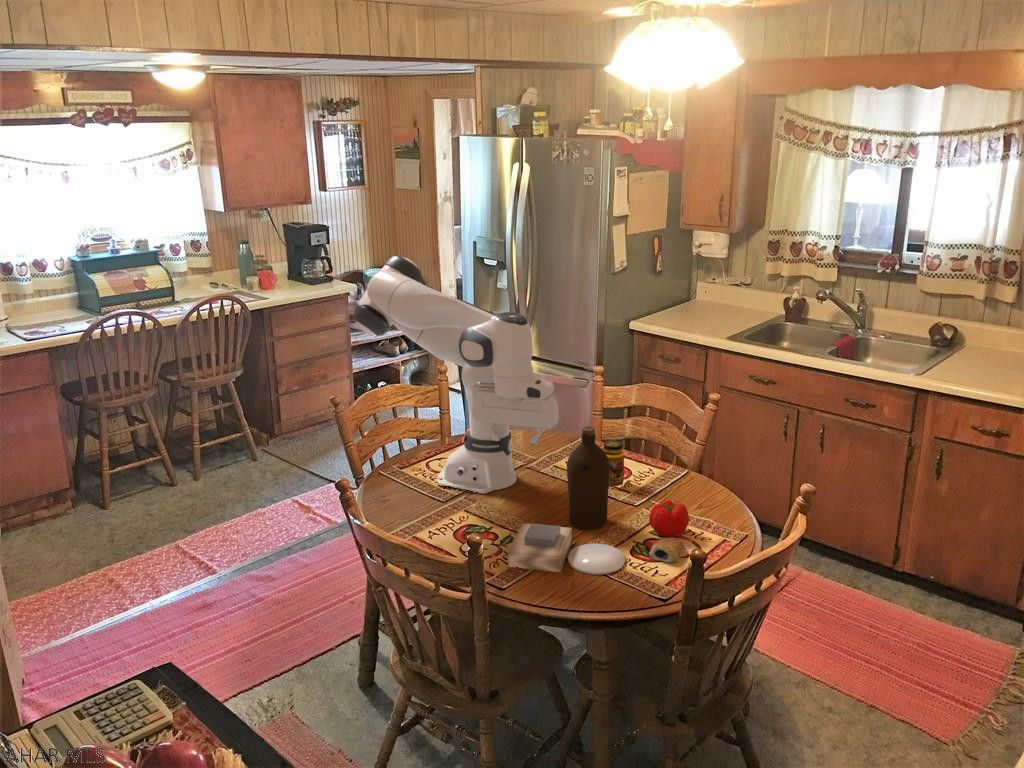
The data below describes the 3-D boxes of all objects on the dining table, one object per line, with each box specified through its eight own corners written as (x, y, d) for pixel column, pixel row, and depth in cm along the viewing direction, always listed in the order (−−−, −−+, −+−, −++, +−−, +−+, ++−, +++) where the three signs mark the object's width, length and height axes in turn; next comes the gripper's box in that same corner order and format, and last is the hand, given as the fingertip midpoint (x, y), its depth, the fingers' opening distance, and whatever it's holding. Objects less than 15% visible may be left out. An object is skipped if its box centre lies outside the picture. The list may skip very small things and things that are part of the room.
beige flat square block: (508, 566, 190) (508, 550, 189) (523, 538, 203) (522, 523, 202) (560, 572, 187) (560, 556, 186) (571, 543, 200) (571, 527, 199)
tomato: (691, 528, 206) (692, 500, 204) (683, 544, 198) (684, 515, 196) (654, 522, 210) (654, 494, 208) (644, 537, 202) (645, 509, 200)
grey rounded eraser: (524, 544, 191) (524, 537, 191) (531, 531, 198) (531, 523, 197) (554, 547, 190) (554, 540, 189) (560, 533, 196) (560, 526, 196)
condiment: (618, 490, 228) (619, 449, 225) (590, 484, 233) (590, 444, 229) (629, 481, 234) (630, 440, 231) (602, 475, 238) (602, 435, 235)
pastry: (663, 542, 200) (664, 528, 199) (690, 549, 196) (691, 535, 195) (647, 559, 192) (647, 544, 191) (674, 566, 189) (675, 551, 188)
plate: (562, 571, 188) (562, 568, 187) (573, 544, 200) (573, 541, 199) (621, 577, 184) (621, 574, 184) (628, 549, 196) (628, 546, 196)
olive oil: (616, 527, 207) (617, 432, 200) (576, 534, 204) (576, 438, 197) (599, 509, 217) (599, 419, 210) (561, 516, 214) (560, 424, 207)
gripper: (466, 385, 190) (468, 442, 194) (551, 392, 182) (552, 451, 186) (477, 377, 195) (479, 433, 199) (560, 384, 188) (561, 442, 192)
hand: (515, 442), depth 193 cm, fingers open, 8 cm apart
